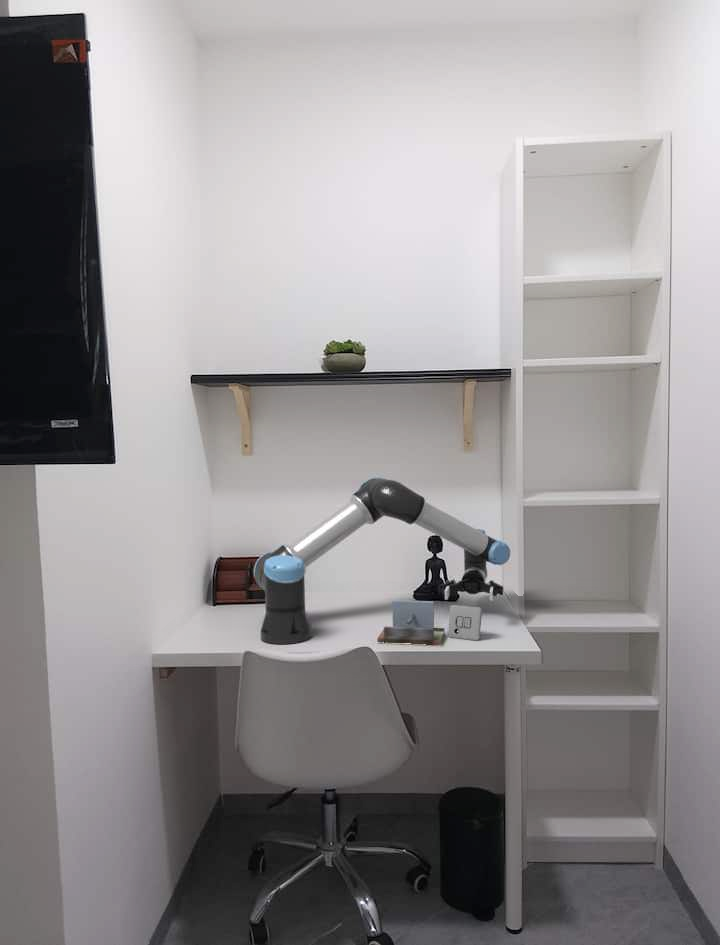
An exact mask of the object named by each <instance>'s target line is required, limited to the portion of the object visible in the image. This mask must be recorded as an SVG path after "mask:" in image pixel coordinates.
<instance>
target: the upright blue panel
mask: <svg viewBox="0 0 720 945" xmlns="http://www.w3.org/2000/svg"><path fill="white" fill-rule="evenodd" d="M392 627H410V628H434V630H437V631H445V627H435V602H434V601H433V600H431V601H430V600H428V601H427V600H404V599H403V600H399V599H398V600H397V599H396V600H395V599H393V600H392Z"/></svg>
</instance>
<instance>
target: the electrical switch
mask: <svg viewBox="0 0 720 945" xmlns="http://www.w3.org/2000/svg"><path fill="white" fill-rule="evenodd" d="M449 607H450V608H449V619H448V630H447V636H448V637H449V638H452V637H455V638H454V639H460V638H463V639H464V640H469V639H470V641H479V640H480V639H481V638H480V637H481V627H482V626H481V624H482V613H483V612H482V607H480V606H479V607H478V606H467V605H458V604H451V605H450V606H449ZM463 639H462V640H463Z"/></svg>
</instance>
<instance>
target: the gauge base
mask: <svg viewBox="0 0 720 945" xmlns="http://www.w3.org/2000/svg"><path fill="white" fill-rule="evenodd" d="M434 628H435V627H434ZM434 628H410V627H393V626H384V627H383V629H382V631H381V632H380V634H379V636H377V638H376V639H377V642H384V643H386V642H387V643H411V644H426V645H425V646H428V645H441V646H442V644H441V643H443V641H444V639H443V638H445V636H446V634H445V633H446V632H445V630H444V631H437V630H434Z"/></svg>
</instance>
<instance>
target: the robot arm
mask: <svg viewBox="0 0 720 945" xmlns="http://www.w3.org/2000/svg"><path fill="white" fill-rule="evenodd" d="M383 517H387V518H392V519H395V520H396V519H397V520H399V521H402V522H404V523H406V524H408V525H413V524H415V525H418V526H419V527H421V528H422V529H424V530H427V531H428V532H430V533H432V534H434V535H437V536H438V537H440V538H442V539H444V540H446V541H448V542H450V543H451V544H453V545H455V546H458V547H459V548H462V549H463V557H464V559H463V562H464V563H463V564H464V572H463V575H462V578H461V580H459V581H458V582H456V580H455V579H451V580H450V581H448V582H445V583H441V584H439V585H437V593H438V594H439V595H441V594H442V595H443V597H444V600H445V601H447V600H449V597H450V594H453V593H458V592H459V593H460V592H461V593H467V594H469V595H477V594H479V593H485V594H489V601H492V602H493V600H494V597H496V596H498V595H500V596H503V595H504V586H503V585H501V584H498V583H496V582H494V580H492V579H491V580H489V581H488V582H486V580H487V578H488V569H487V562H488V563H491V564H492V565H495V566H496V565H497V566H502V565H505V564H506V563H507V562H508V561H509V560H510V557H511V549H510V546H509V545H508V544H507V543H505V542H503V541H501V540H497V539H495V538H493V537H491V536H489V535H487V534H486V531H485V530H484V529H482V528H476V527H475V528H474V527H473V526H470V525H469V524H467V523H466V522H463V521H461V520H459V519H458V518H456V517H455V516H452V515H450V514H449V513H446V512H444V511H443V510H441V509H439V508H438V507H436V506H433V505H432V504H430V503H428V502H427V501H426V499H425V497H424V496H422V495H421V494H419V493H416V492H415V491H414V490H412V489H410V488H409V487H407V486H405V485H404V484H402V483H401V482H398V481H396V480H392V479H387V478H383V477H373V478H369V479H367V480H365V481H364V482H362V484H360V486H359V487H358V489H357V491H355V492H354V493H353V494H351V495H350V500H349V502H348V503H346V504H345V505H343V507H342V508H340V509H339V510H337V511H336V512H334V513H333V514H332V515H329V517H327V518H326V519H324V520H323V521H322V522H321V523H320V524H318V525H316V526H315V527H314V528H312V529H311V530H310V531H308V532H307V533H305V534H303V536H302V537H300V538H299V539H297V540H296V541H294V542H293V543H292V544H290V545H288V544H282V545H280V547H278V548H277V549H275V550H274V551H271V552H267V553H264V554H263V555H260V557H259V558H257V560H256V562H255V563H254V567H253V578H254V580H255V583H256V584H257V585H258V587H259V588H260V589H261V590H263V592H264V596H265V599H264V603H265V614H264V617H263V621H262V625H261V628H260V631H259V632H260V640H261V639H262V640H263V641H262V640H261V641H262V642H264V641H265V642H264V643H268V644H273V645H274V644H275V645H291V644H297V643H302V642H305V641H307V640H309V639H311V638H312V637H313V632H312V630H313V629H312V626H311V623H310V621H309V620H310V619H309V617H308V614H307V611H306V593H305V592H306V589H305V587H306V586H305V585H306V584H305V575H306V570H307V568H308V567H309V566H311V564H313V563H314V562H316V561H317V560H318V559H320V558H322V556H324V555H325V554H326V553H327V552H329V551H331V550H332V549H333V548H335V547H336V546H337V545H338V544H340V543H341V542H342V541H344V540H345V539H347V538H348V537H350V536H351V535H352V534H354V533H355V532H356V531H357V530H359V529H360V528H361V527H363V526H364V525H366V524H367V525H373V524H374V523H375V524H376V522H378V521H379V520H380V519H381V518H383Z"/></svg>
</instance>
